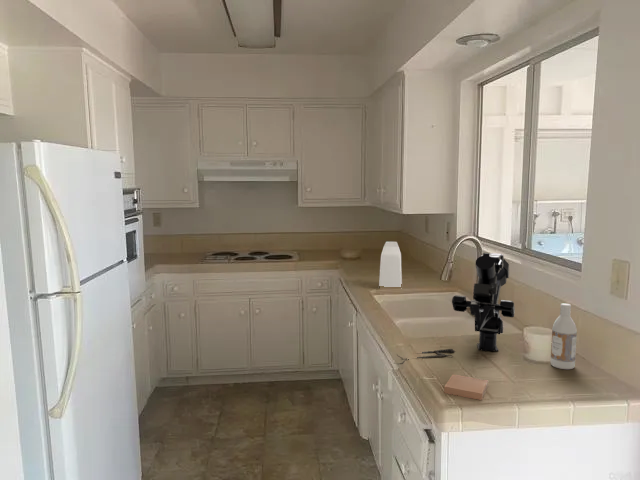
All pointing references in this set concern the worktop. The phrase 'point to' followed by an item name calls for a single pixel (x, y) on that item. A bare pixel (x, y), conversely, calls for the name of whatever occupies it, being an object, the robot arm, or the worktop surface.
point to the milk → (390, 266)
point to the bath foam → (564, 340)
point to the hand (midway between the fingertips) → (479, 329)
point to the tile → (466, 387)
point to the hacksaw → (435, 355)
